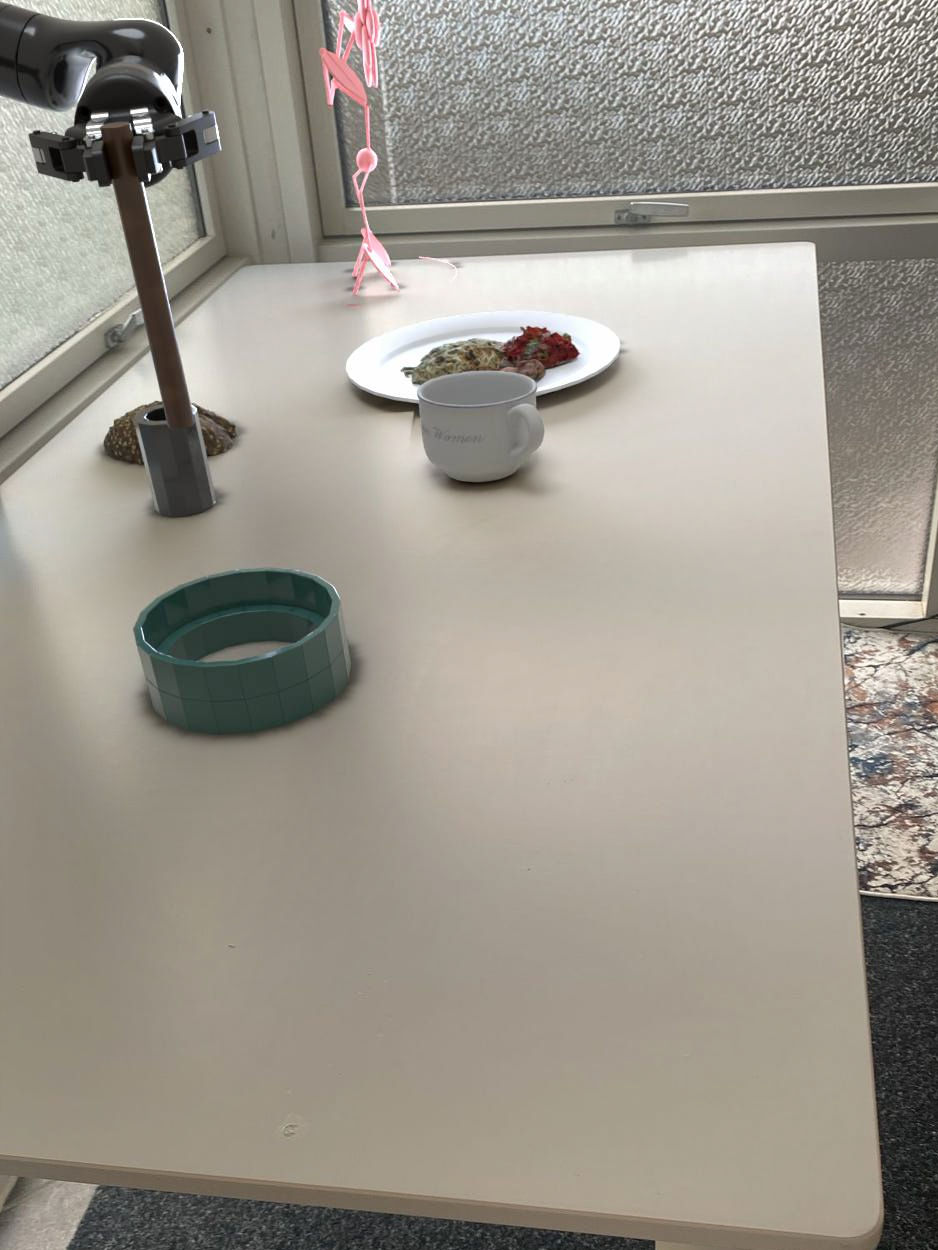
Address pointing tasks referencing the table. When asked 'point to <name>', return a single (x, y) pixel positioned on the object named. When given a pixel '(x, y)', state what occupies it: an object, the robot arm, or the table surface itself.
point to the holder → (175, 464)
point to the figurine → (367, 39)
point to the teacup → (479, 423)
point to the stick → (147, 274)
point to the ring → (237, 616)
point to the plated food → (484, 351)
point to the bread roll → (126, 444)
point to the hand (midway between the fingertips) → (120, 167)
